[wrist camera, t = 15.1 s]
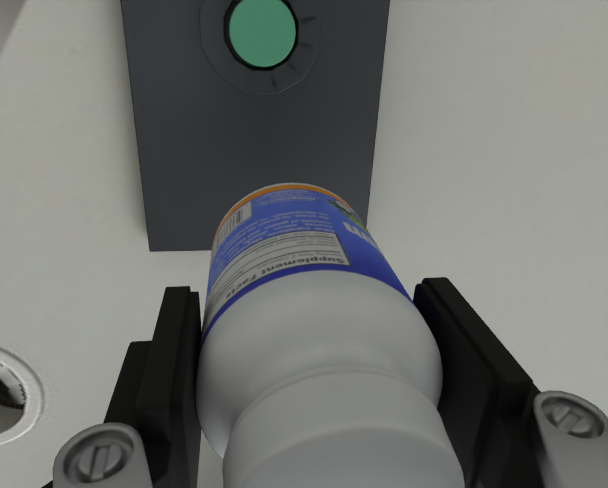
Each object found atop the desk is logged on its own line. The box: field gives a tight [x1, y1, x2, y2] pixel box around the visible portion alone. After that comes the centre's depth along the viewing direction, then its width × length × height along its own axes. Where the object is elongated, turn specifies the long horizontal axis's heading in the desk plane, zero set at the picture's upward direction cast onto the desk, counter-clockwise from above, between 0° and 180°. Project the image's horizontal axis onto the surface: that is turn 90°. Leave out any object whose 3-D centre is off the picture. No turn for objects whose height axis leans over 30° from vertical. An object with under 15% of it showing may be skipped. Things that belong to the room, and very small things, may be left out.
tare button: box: [229, 0, 296, 67], centre depth 23 cm, size 3×3×2 cm
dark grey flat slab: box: [121, 0, 390, 252], centre depth 27 cm, size 16×14×3 cm
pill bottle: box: [195, 183, 465, 488], centre depth 12 cm, size 5×5×10 cm
